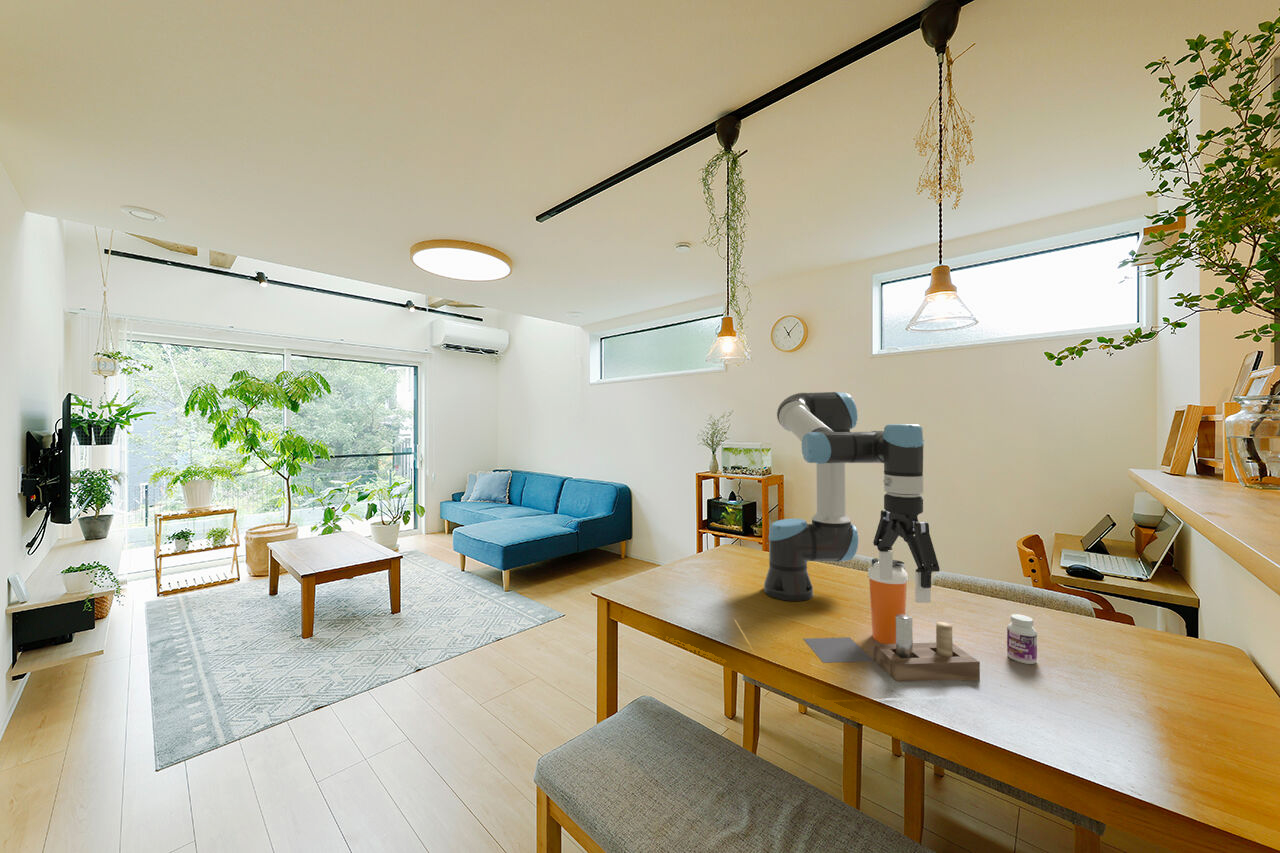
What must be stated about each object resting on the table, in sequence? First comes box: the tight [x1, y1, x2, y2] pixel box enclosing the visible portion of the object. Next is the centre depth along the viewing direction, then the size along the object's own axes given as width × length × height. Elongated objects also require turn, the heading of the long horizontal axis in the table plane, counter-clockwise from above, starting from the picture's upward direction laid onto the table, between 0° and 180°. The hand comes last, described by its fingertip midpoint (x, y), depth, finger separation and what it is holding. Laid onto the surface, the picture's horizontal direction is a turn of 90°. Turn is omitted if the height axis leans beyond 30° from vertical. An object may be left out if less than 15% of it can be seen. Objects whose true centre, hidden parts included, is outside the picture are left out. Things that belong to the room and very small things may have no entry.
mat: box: [803, 636, 875, 664], centre depth 113 cm, size 12×12×1 cm
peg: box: [896, 614, 914, 658], centre depth 103 cm, size 3×3×12 cm
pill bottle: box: [1006, 613, 1038, 665], centre depth 108 cm, size 5×5×10 cm
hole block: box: [873, 642, 981, 683], centre depth 104 cm, size 9×18×4 cm, turn 92°
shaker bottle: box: [867, 557, 909, 644], centre depth 118 cm, size 9×9×20 cm
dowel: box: [935, 621, 953, 657], centre depth 104 cm, size 3×3×10 cm
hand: (903, 590), depth 104 cm, fingers open, 13 cm apart
